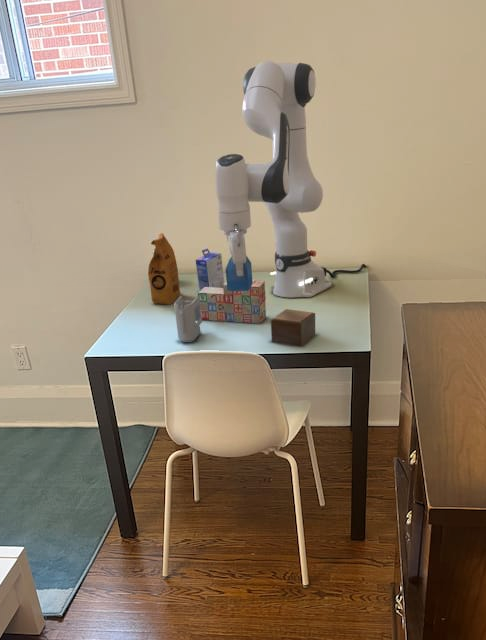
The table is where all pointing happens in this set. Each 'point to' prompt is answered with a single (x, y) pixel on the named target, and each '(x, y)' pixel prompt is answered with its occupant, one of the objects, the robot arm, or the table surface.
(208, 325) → the table surface
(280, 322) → the walnut block
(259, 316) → the stack of blocks
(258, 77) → the robot arm
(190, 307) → the cable organizer
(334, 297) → the table surface
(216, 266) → the ink cartridge box
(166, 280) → the coffee package
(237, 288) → the perfume bottle
